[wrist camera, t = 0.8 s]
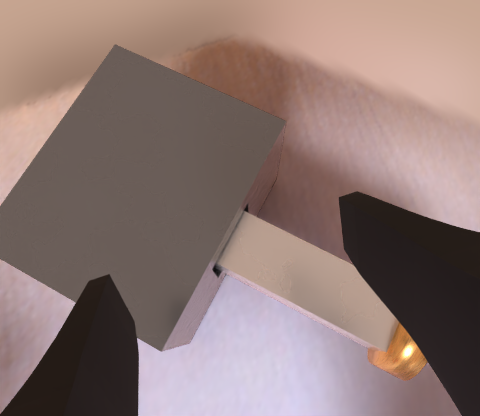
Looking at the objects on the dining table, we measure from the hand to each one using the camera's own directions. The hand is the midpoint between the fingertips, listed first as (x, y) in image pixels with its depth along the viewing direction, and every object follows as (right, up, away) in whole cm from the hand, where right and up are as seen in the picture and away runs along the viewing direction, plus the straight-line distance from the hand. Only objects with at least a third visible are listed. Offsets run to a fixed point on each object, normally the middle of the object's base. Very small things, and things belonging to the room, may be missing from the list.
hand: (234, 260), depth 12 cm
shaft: (+3, -2, +11) cm, 12 cm away
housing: (-5, +1, +14) cm, 15 cm away
